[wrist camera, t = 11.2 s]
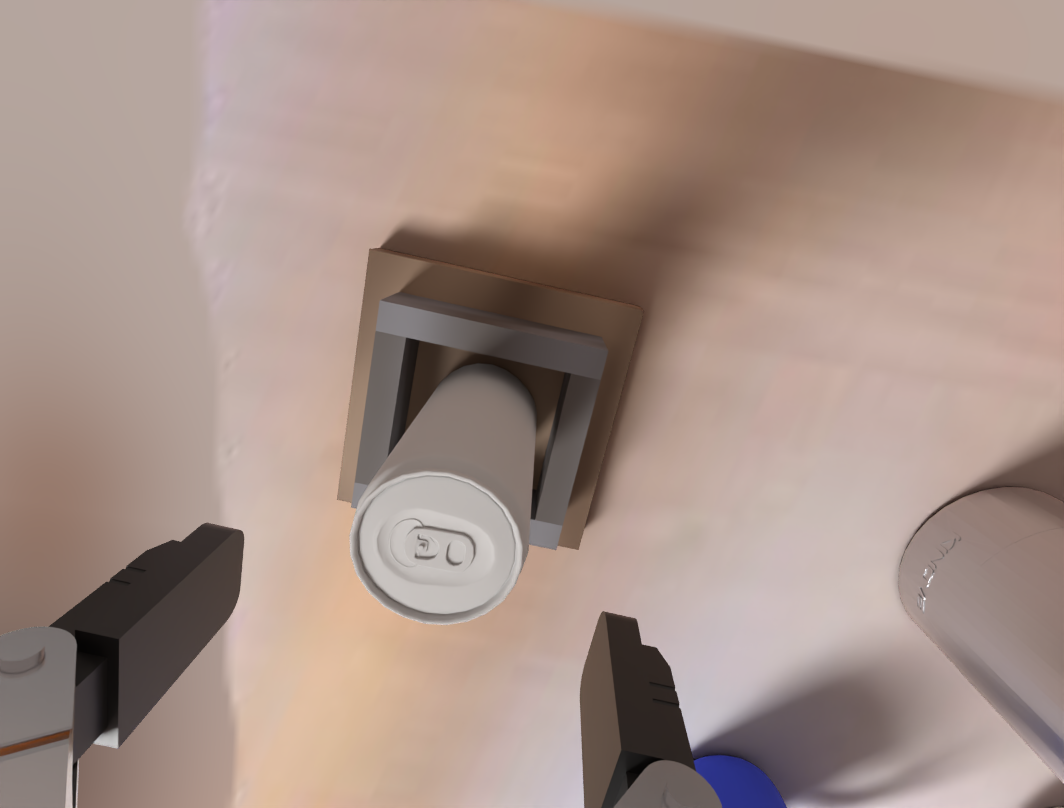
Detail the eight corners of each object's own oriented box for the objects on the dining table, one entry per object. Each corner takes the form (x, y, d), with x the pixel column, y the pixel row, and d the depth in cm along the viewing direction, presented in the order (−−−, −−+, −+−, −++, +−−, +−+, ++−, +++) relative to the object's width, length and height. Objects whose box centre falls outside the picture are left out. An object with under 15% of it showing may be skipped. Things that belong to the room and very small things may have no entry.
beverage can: (440, 350, 26) (352, 449, 14) (546, 371, 26) (545, 485, 14) (425, 450, 27) (335, 612, 16) (526, 468, 27) (510, 643, 16)
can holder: (639, 306, 26) (656, 321, 22) (576, 534, 30) (581, 586, 26) (379, 247, 26) (345, 252, 22) (347, 486, 29) (312, 530, 25)
